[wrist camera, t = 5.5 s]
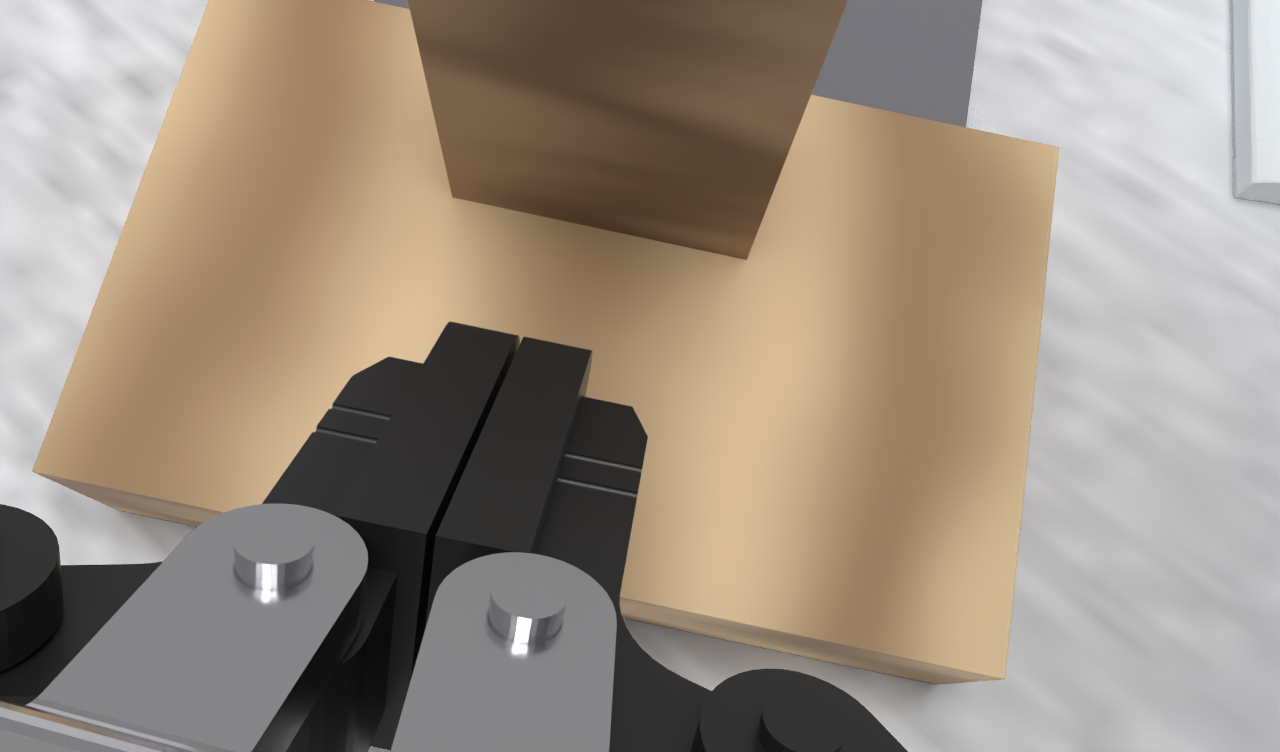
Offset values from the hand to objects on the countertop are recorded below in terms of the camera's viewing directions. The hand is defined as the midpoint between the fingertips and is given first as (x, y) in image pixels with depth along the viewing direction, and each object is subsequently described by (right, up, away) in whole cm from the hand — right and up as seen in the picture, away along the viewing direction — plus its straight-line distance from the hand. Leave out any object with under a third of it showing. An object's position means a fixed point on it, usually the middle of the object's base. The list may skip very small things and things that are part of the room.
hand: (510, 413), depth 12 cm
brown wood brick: (+1, +5, +11) cm, 12 cm away
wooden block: (0, +1, +14) cm, 14 cm away
